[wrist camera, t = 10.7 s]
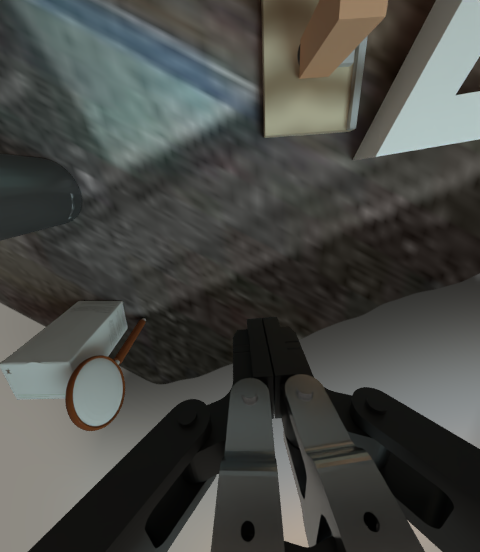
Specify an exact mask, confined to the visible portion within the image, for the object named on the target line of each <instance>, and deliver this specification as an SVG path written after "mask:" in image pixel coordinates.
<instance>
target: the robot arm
mask: <svg viewBox="0 0 480 552" xmlns="http://www.w3.org/2000/svg"><path fill="white" fill-rule="evenodd" d="M81 206H82V198H81V193H80V190H79V187H78V185H77V183H76V181H75V180H74V178H73V177H72V176H71V174H70V173H69V172H68V171H66V170H65V169H64V168H63V167H62V166H60V165H59V164H57V163H55V162H53V161H51V160H48V159H44V158H36V157H27V156H18V155H9V154H0V241H1V240H5V239H8V238H12V237H16V236H20V235H23V234H27V233H31V232H35V231H38V230H42V229H46V228H50V227H54V226H57V225H61V224H65V223H68V222H70V221H72V220H73V219H75V218H76V217H77V215H78V214H79V213H80V210H81ZM247 327H248V329H246V330H237V332H236V333H235V335H234V337H233V386H232V388H231V390H230V392H229V393H228V394H227V395H226V396H225V397H224V398H222V399H221V400H219V401H216V402H214V403H211V404H210V405H206V404H205V403H204V402H202V401H200V400H196V399H190V400H186V401H183V402H181V403H180V404H178V405H177V406H176V407H174V408H173V409H172V410H171V411H170V413H168V414H167V415H166V417H164V418H163V419H162V420H161V421H160V422H159V423H158V424H157V425H156V426H155V427H154V428H153V429H152V430H151V431H150V432H149V433H148V434H147V435H146V436H145V437H144V438H143V439H142V440H141V441H140V442H139V443H138V444H137V445H136V446H135V447H134V448H133V449H132V450H131V451H130V452H129V453H128V454H127V455H126V456H125V457H124V458H123V459H122V460H121V461H120V462H119V463H118V464H117V465H116V466H115V467H114V468H113V469H112V470H110V471H109V472H108V473H107V474H106V475H105V476H104V477H103V478H102V479H101V481H99V482H98V483H97V484H96V485H95V486H94V487H93V488H92V489H91V490H90V491H89V492H88V493H87V494H86V495H85V496H84V497H83V498H82V499H81V500H80V501H79V502H78V503H77V504H76V505H75V506H74V507H73V508H72V509H71V510H70V511H69V512H68V513H67V514H66V515H65V516H64V517H63V518H62V519H61V520H60V521H59V522H58V523H57V524H56V525H55V526H54V527H53V528H52V529H51V530H50V531H49V532H48V533H46V535H44V536H43V538H41V540H40V541H38V542H37V543H36V544H35V545H34V546H33V547H32V548H31V549H30V550H29V551H28V552H167V551H168V549H169V548H170V546H171V545H172V543H173V542H174V540H175V539H176V537H177V536H178V534H179V533H180V531H181V530H182V528H183V526H184V525H185V523H186V522H187V520H188V519H189V517H190V516H191V514H192V513H193V511H194V510H195V508H196V507H197V505H198V504H199V502H200V500H201V499H202V497H203V496H204V495H205V493H206V491H207V490H208V488H209V487H210V485H211V484H212V482H213V481H214V479H215V477H216V475H217V474H219V480H218V490H217V499H216V508H215V518H214V527H213V536H212V546H211V552H425V551H424V549H423V547H422V546H421V544H420V542H419V540H418V539H417V537H416V535H415V533H414V531H413V530H412V528H411V526H410V524H409V523H408V521H409V522H410V523H411V524H412V525H414V526H415V527H416V528H417V529H418V530H419V531H420V532H421V533H422V534H424V535H425V536H426V537H427V538H428V539H429V540H430V541H431V542H432V543H433V544H435V545H436V546H437V547H438V548H439V549H440V550H441V551H442V552H480V449H479V448H477V447H475V446H473V445H472V444H470V443H468V442H467V441H465V440H463V439H462V438H460V437H458V436H456V435H455V434H453V433H451V432H450V431H448V430H446V429H444V428H443V427H441V426H439V425H438V424H436V423H435V422H433V421H431V420H429V419H428V418H426V417H424V416H423V415H421V414H419V413H418V412H416V411H414V410H412V409H411V408H409V407H407V406H406V405H404V404H402V403H401V402H398V401H397V400H396V399H394V398H392V397H390V396H389V395H387V394H385V393H383V392H382V391H380V390H377V389H374V388H367V387H364V388H360V389H357V390H356V391H355V392H354V393H353V396H351V395H346V394H342V393H337V392H334V391H331V390H328V389H326V388H325V387H323V385H322V384H321V383H320V382H319V381H318V380H317V379H315V378H314V376H313V375H312V372H311V369H310V367H309V364H308V362H307V360H306V357H305V355H304V352H303V350H302V348H301V345H300V342H299V340H298V338H297V335H296V333H295V332H294V331H293V330H292V329H291V328H290V327H289V326H287V327H280V325H279V321H278V318H277V317H269V318H262V319H261V318H256V319H247ZM273 414H275V418H282V422H283V427H284V442H285V445H286V449H287V453H288V457H289V460H290V464H291V468H292V472H293V475H294V479H295V483H296V487H297V490H298V494H299V498H300V502H301V507H302V513H303V521H304V526H305V532H306V536H307V540H308V544H309V547H308V548H306V547H302V546H299V545H295V544H292V543H289V542H286V541H284V537H283V526H282V515H281V505H280V494H279V482H278V472H277V463H276V459H275V451H274V440H273V428H272V419H273V418H274V415H273ZM407 520H408V521H407Z"/></svg>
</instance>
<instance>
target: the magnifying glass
mask: <svg viewBox="0 0 480 552" xmlns="http://www.w3.org/2000/svg"><path fill="white" fill-rule="evenodd" d="M145 321H146V319H145V318H142V319H141V320H139V322H138V323H137V325H136V326H135V328H134V329H133V331H132V332H131V334H130V335H129V337H128V338H127V340H126V341H125V343H124V345H123V346H122V348H121V349H120V351H119V352H118V354H117V355H116V357H115V358H114V360H113V359H111V358H110V357H107V356H103V355H98V356H93V357H90V358H88V359H86V360H84V361H83V362H82V363H80V364H79V365H78V366H77V368H76V369H75V370H74V371H73V373H72V375H71V377H70V379H69V381H68V385H67V389H66V396H65V399H66V409H67V412H68V415H69V417H70V419H71V420H72V422H73V423H74V424H75V425H76V426H77V427H79V428H81V429H83V430H86V431H95V430H99V429H102V428H104V427H106V426H107V425H108V424H109V423H111V421H113V420H114V418H115V417H116V416H117V414H118V413H119V411H120V409H121V407H122V404H123V400H124V395H125V381H124V376H123V373H122V371H121V369H120V367H119V365H120V364H121V363H122V361H123V359H124V358H125V356H126V354H127V353H128V351H129V349H130V348H131V346H132V344H133V343H134V341H135V339H136V338H137V336H138V335H139V333H140V331H141V330H142V328H143V326H144V325H145V323H146V322H145Z"/></svg>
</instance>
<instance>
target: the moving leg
mask: <svg viewBox="0 0 480 552" xmlns="http://www.w3.org/2000/svg"><path fill="white" fill-rule="evenodd" d="M387 4H388V0H319V2H318V4H317V7H316V9H315V11H314V13H313V15H312V17H311V19H310V21H309V23H308V25H307V27H306V29H305V31H304V33H303V35H302V37H301V41H300V70H299V79H305V78H319V77H329V76H330V75H331V74H332V73H333V72H334V71H335V69H336V68H337V67H349V66H351V65H352V64H353V63H354V54H355V48H356V47H357V46H358V45H359V44H360V43H361V42H362V41H363V40H364V39H365V38H366V37H367V36H368V35H369V33H370V32H371V31H372V30H373V29H374V28H375V27H376V26H377V25H378V24H379V23H380V22H381V21H382V20H383V19H384V18H385V16H386V11H387Z"/></svg>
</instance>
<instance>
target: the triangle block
mask: <svg viewBox="0 0 480 552" xmlns="http://www.w3.org/2000/svg"><path fill="white" fill-rule="evenodd" d="M479 56H480V0H436V1H435V3H434V5H433V7H432V9H431V11H430V13H429V14H428V16H427V18H426V20H425V22H424V24H423V26H422V28H421V30H420V32H419V34H418V36H417V37H416V39H415V41H414V43H413V45H412V47H411V49H410V51H409V53H408V55H407V57H406V59H405V60H404V62H403V64H402V66H401V68H400V70H399V72H398V74H397V76H396V78H395V80H394V82H393V83H392V85H391V87H390V89H389V91H388V93H387V95H386V97H385V99H384V101H383V103H382V105H381V106H380V108H379V110H378V112H377V114H376V116H375V118H374V120H373V122H372V124H371V126H370V128H369V129H368V131H367V133H366V135H365V137H364V139H363V141H362V143H361V145H360V147H359V149H358V151H357V152H356V154H355V156H354V158H353V160H358V159H364V158H371V157H377V156H383V155H389V154H395V153H401V152H407V151H413V150H419V149H425V148H430V147H436V146H442V145H448V144H454V143H460V142H466V141H472V140H478V139H480V91H478V92H472V93H466V94H461V95H456V93H457V92H458V90H459V89H460V87H461V85H462V84H463V82H464V81H465V79H466V77H467V76H468V74H469V73H470V71H471V69H472V68H473V66H474V64H475V63H476V61H477V60H478V58H479Z"/></svg>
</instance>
